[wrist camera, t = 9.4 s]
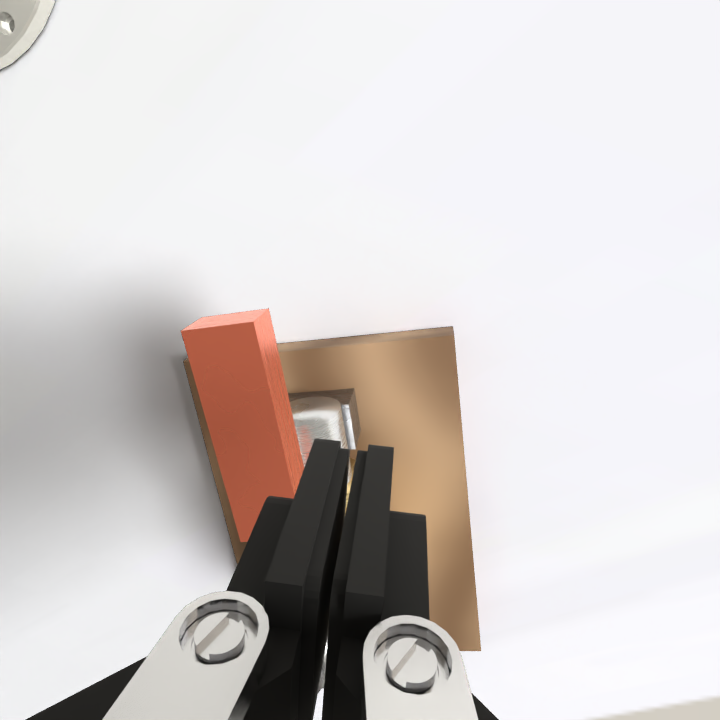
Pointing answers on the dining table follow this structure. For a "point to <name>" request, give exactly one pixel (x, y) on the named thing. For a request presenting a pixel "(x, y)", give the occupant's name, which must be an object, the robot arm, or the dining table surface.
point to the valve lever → (246, 412)
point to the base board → (398, 446)
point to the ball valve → (327, 421)
